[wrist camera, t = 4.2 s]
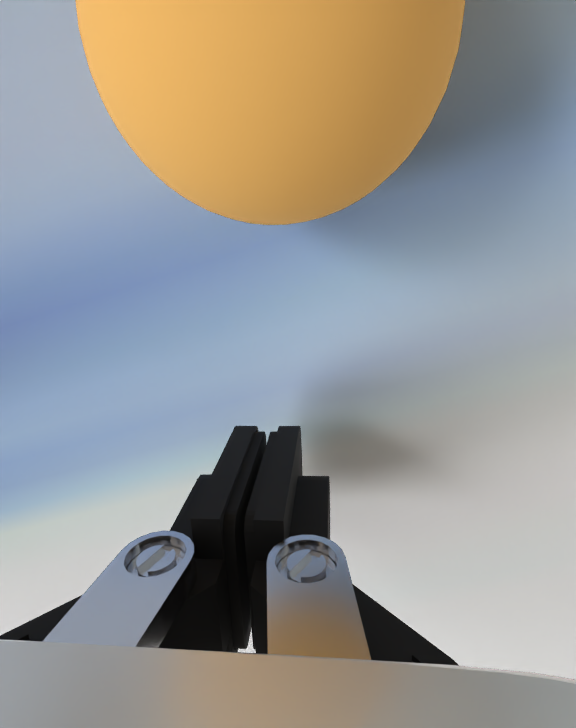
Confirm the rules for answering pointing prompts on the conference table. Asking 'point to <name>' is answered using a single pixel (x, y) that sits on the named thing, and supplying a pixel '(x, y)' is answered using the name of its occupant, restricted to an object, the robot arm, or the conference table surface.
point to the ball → (271, 94)
